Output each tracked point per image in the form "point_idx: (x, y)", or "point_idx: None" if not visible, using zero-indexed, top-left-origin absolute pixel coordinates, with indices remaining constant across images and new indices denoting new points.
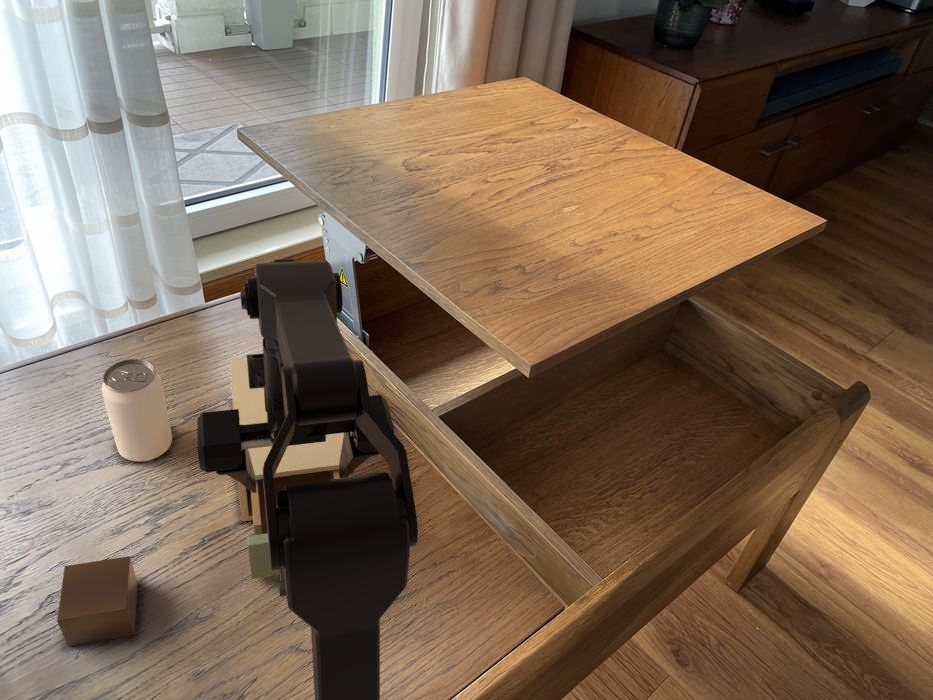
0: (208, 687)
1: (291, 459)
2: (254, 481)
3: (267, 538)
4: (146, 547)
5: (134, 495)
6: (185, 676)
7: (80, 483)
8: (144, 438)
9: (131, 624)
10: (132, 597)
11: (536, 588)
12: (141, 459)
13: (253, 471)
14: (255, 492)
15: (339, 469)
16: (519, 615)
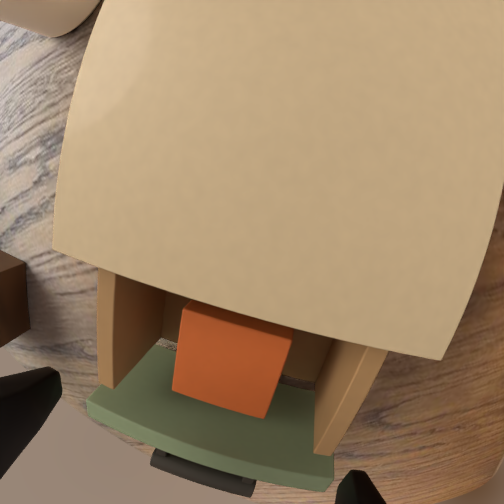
0: (98, 421)
1: (231, 249)
2: (21, 436)
3: (122, 427)
4: (32, 207)
5: (35, 101)
6: (77, 400)
7: (3, 71)
8: (23, 20)
9: (15, 337)
10: (7, 309)
11: (487, 472)
12: (51, 36)
13: (7, 414)
14: (58, 396)
15: (350, 500)
16: (449, 491)
